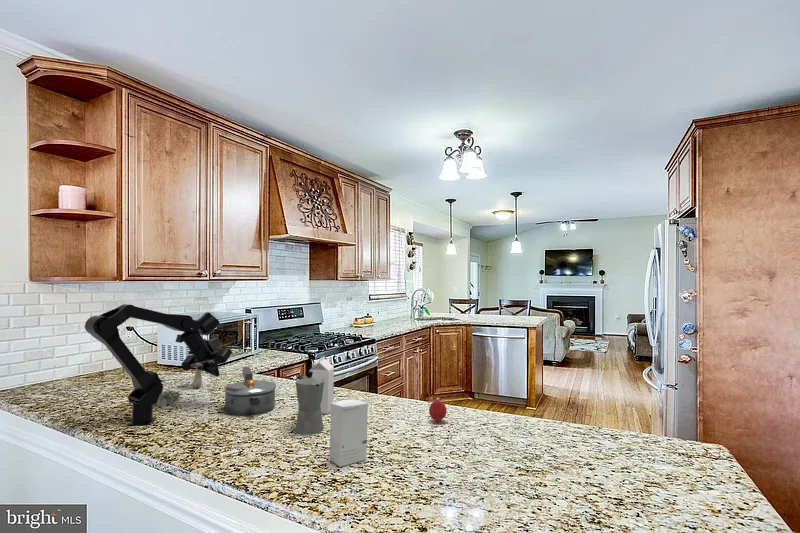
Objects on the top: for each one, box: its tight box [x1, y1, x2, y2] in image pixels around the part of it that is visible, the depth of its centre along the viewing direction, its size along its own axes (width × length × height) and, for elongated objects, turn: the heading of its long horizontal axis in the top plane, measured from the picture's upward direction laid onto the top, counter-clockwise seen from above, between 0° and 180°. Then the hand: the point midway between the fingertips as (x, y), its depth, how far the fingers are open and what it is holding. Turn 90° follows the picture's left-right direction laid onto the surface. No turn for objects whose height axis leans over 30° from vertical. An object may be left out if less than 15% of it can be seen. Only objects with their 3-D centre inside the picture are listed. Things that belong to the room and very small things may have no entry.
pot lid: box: [224, 366, 277, 395], centre depth 163 cm, size 30×18×4 cm, turn 24°
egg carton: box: [153, 389, 182, 407], centre depth 165 cm, size 11×8×4 cm
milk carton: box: [308, 355, 335, 415], centre depth 155 cm, size 7×7×19 cm
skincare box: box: [329, 398, 369, 468], centre depth 113 cm, size 8×6×15 cm
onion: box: [428, 397, 447, 423], centre depth 144 cm, size 6×6×8 cm
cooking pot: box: [224, 389, 276, 417], centre depth 157 cm, size 25×17×7 cm
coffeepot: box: [294, 370, 324, 435], centre depth 137 cm, size 15×9×18 cm, turn 33°
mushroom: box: [190, 364, 203, 389], centre depth 186 cm, size 9×11×15 cm
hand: (218, 375), depth 163 cm, fingers closed
